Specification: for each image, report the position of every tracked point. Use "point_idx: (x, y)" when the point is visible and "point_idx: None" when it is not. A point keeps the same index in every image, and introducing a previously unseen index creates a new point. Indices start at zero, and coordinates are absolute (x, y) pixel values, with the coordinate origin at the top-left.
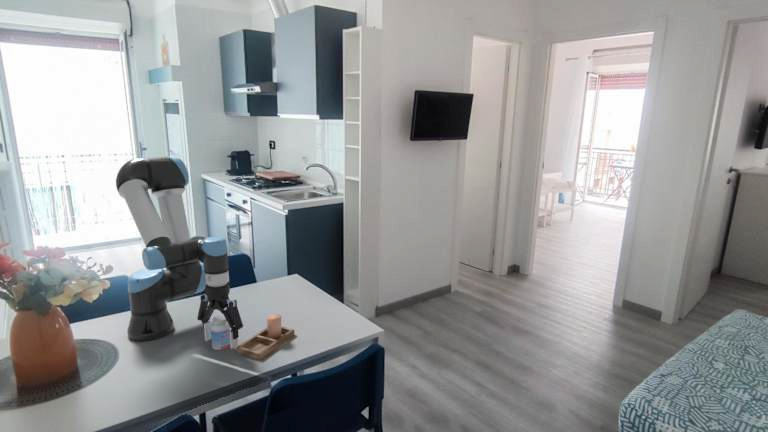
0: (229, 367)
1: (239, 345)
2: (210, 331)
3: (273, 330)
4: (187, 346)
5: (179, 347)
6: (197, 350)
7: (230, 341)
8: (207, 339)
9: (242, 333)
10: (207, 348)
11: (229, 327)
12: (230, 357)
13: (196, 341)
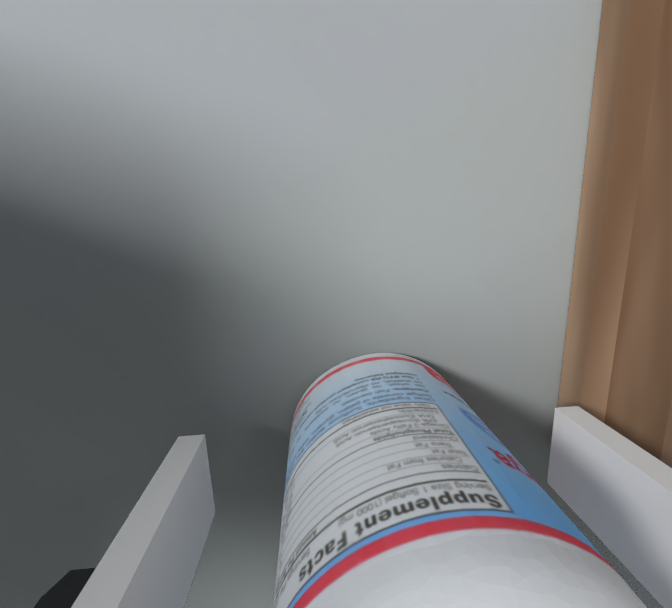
0: (624, 569)
1: (662, 459)
2: (171, 538)
3: None
4: (71, 548)
5: (27, 590)
6: (214, 545)
7: (621, 554)
8: (209, 513)
9: (337, 74)
10: (262, 485)
11: (634, 593)
12: (547, 483)
13: (49, 455)
